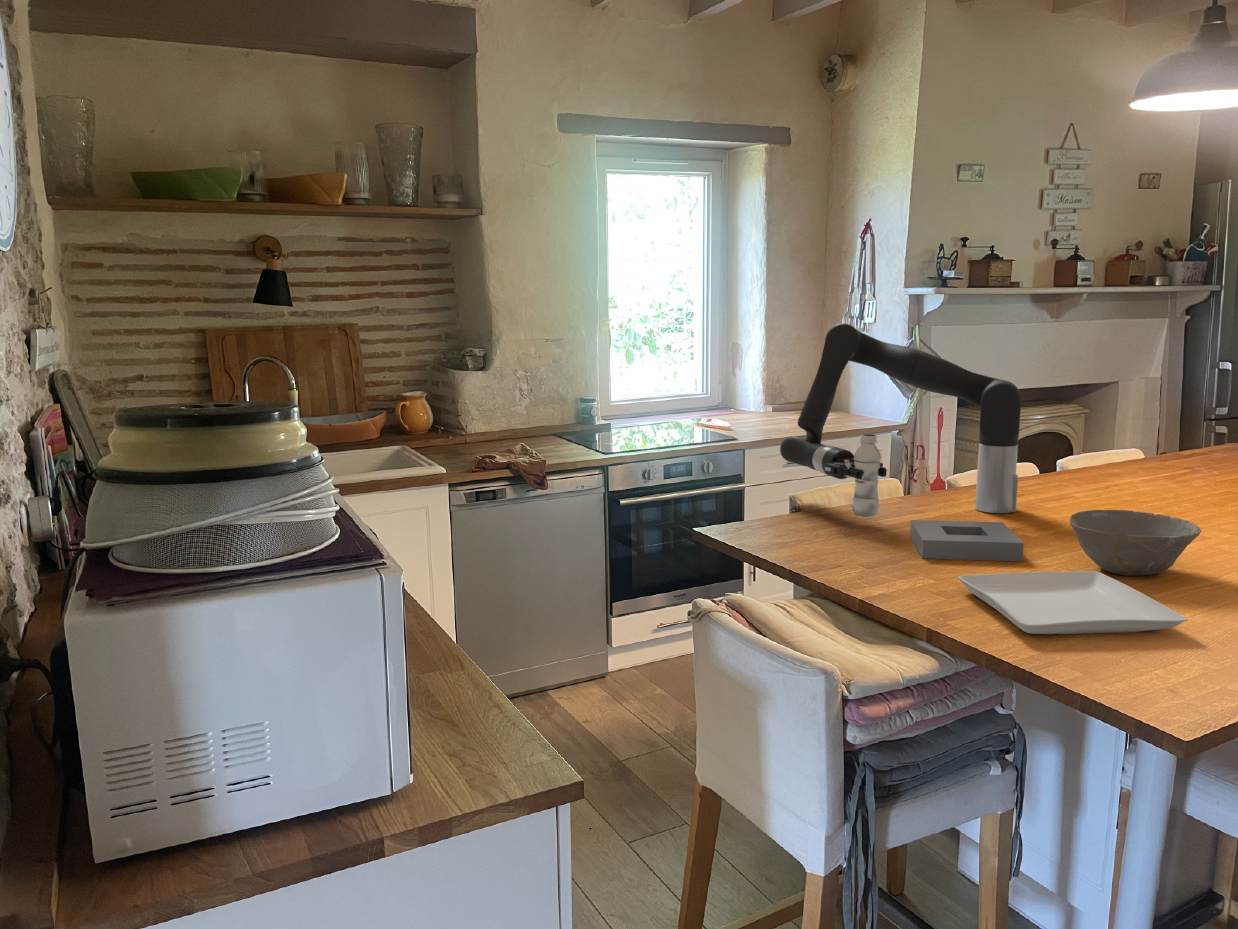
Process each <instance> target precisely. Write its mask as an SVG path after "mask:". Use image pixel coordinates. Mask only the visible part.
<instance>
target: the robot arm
mask: <svg viewBox="0 0 1238 929" xmlns="http://www.w3.org/2000/svg"><path fill="white" fill-rule="evenodd" d="M820 358H821V359H820V361H819V365H818V368H817V372H816V375H815V377H814V380H813V382H812V385H811V387H810V390H809V392H808V394H807V397H806V399H805V402H804V404H803V406H802V409H801V411H800V415H799V417H798V420H797V427H799V428H800V429H802V430H803V431H805V435H806V438H801V437H798V436H795V435H791V436H787V437H786V438H784V439H783V440H782V441H781V444H780V447H779V450H780V451H779V452H780V455H781V457H782V459H783V460H785V461H787V462H790V463H793V464H796V465H800V466H803V467H808V468H809V469H812V470H813V471H816V472H820V473H821V474H823V475H826V476H828V477H832V478H834V479H838V480H846V479H848V478H853V479H862V470H860V469H857V468H855V464H854V455H855V454H854V453H852V452H851V451H850V450H848V449H844V448H841V447H837V446H834V445H827V444H823V443H822V438H823V430H824V427H825V424H826V422H827V419H828V417H829V414H830V411H831V410H832V406H833V404H834V403H833V402H834V399H835V395H836V392H837V389H838V385H839V382H840V379H841V377H842V374H843V372H844V370H845V368H846V366H847V364H848V363H849V362H853V363H855V364H860V365H863V366H866V367H867V366H868V367H870V368H873V369H875V370H877V371H878V372H879V371H880V372H881V373H883V374H885V375H887V376H889V377H891V378H893V379H895V380H896V381H900V382H901V383H904V384H906V385H909V386H911V387H915V388H917V389H920V390H923V391H927V392H930V393H935V394H940V395H945V396H951V397H954V398H958V399H962V400H964V401H967V402H969V403H971V404H974V405H976V406H978V407H980V409H979V410H980V411H979V412H980V414H979V427H978V428H979V430H978V454H977V468H976V469H977V471H976V486H975V487H976V488H975V490H976V491H975V506H974V507H975V510H977V511H979V512H982V513H983V512H985V513H989V514H990V513H991V514H1009V513H1016V512H1017V502H1018V501H1017V500H1018V499H1017V498H1018V487H1019V486H1018V485H1019V475H1018V474H1017V466H1018V465H1017V464H1018V450H1019V449H1018V448H1019V438H1020V437H1019V436H1020V423H1021V422H1020V421H1021V409H1022V397H1021V392H1020V390H1019V388H1018V387H1017V386H1016V384H1014V383H1012V382H1011V381H1009V380H1005V379H1000V378H996V377H991V376H987V375H983V374H980V373H976V372H973V371H971V370H967V369H965V368H963V367H961V366H959V365H957V364H956V363H953V362H951V361H949V360H947V359H944V358H941V357H939V356H936V355H934V354H931V353H928V352H925V351H922V350H920V349H917V348H913V347H910V346H905V345H901V344H894V343H889V342H885V341H882V340H880V339H877V338H874V337H872V336H871V335H867V334H866V333H864V332H862V331H860V330H858V329H857V328H856V327H855V326H853V325H851V324H850V323H849V324H848V323H843V322H842V323H838V324H835V325H833V326H832V327H831V328H829V329H828V331H827V332H826V335H825V338H824V345H823V350H822V354H821V357H820ZM887 470H888V469H887V468H886V467H884V463H883V462H881V463H880V469H879V476H878V477H881V478H886V477H887V473H888V472H887Z"/></svg>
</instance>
